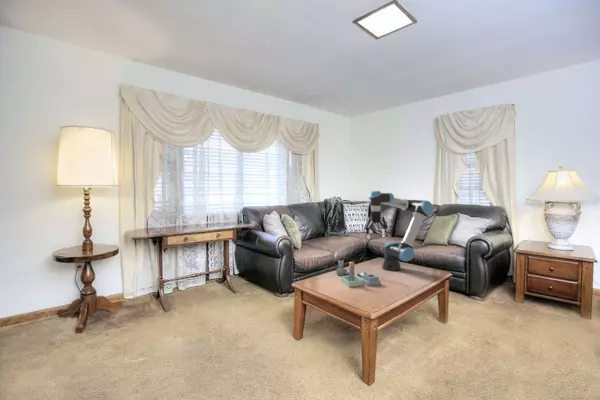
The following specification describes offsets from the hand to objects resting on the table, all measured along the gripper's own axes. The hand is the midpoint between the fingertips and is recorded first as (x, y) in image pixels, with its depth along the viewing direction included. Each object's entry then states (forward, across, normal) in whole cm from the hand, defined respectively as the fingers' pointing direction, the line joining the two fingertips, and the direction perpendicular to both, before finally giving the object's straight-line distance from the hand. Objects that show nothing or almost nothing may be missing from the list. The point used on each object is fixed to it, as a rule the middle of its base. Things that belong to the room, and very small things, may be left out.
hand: (376, 237), depth 228 cm
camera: (+31, +22, -11) cm, 40 cm away
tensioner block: (+31, +12, +7) cm, 34 cm away
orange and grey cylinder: (+30, +26, +7) cm, 40 cm away
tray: (+31, +26, +7) cm, 41 cm away
